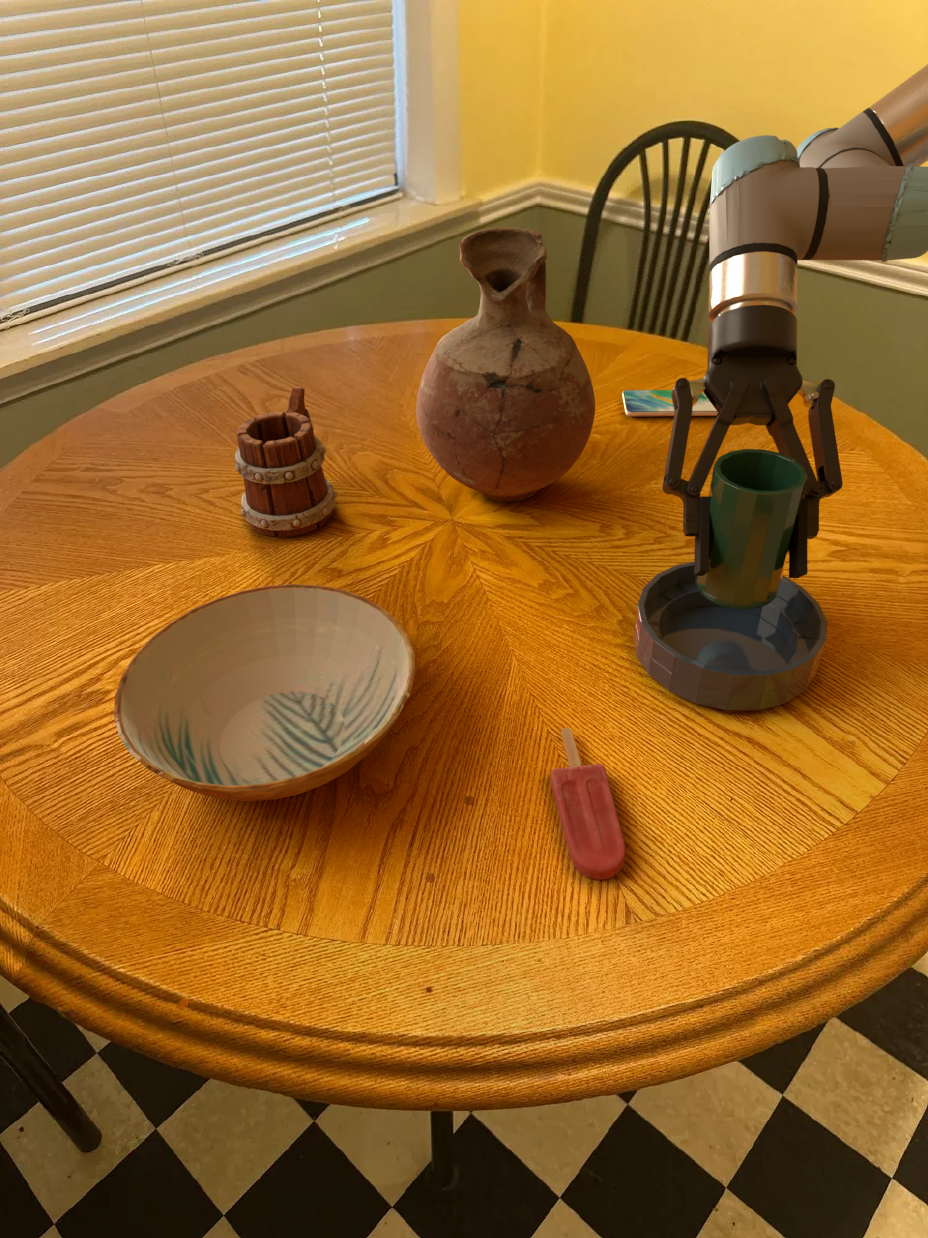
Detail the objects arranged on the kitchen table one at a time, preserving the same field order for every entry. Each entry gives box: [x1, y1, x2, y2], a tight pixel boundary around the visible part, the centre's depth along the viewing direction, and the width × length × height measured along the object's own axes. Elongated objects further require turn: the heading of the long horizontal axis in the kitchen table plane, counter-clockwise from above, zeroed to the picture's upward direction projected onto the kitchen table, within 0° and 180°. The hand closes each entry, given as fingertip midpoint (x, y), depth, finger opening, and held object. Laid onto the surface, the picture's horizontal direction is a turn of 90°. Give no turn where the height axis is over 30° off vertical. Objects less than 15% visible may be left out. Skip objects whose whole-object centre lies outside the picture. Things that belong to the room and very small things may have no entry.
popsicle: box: [550, 727, 627, 880], centre depth 71 cm, size 4×2×15 cm
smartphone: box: [621, 389, 718, 417], centre depth 125 cm, size 7×1×15 cm
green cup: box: [695, 448, 808, 610], centre depth 76 cm, size 7×7×12 cm
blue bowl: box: [633, 560, 828, 711], centre depth 83 cm, size 17×17×5 cm
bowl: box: [113, 583, 416, 802], centre depth 75 cm, size 25×25×8 cm
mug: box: [234, 387, 338, 538], centre depth 104 cm, size 12×14×15 cm
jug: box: [415, 226, 596, 502], centre depth 102 cm, size 22×22×30 cm
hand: (749, 574), depth 74 cm, fingers closed on green cup, 7 cm apart
